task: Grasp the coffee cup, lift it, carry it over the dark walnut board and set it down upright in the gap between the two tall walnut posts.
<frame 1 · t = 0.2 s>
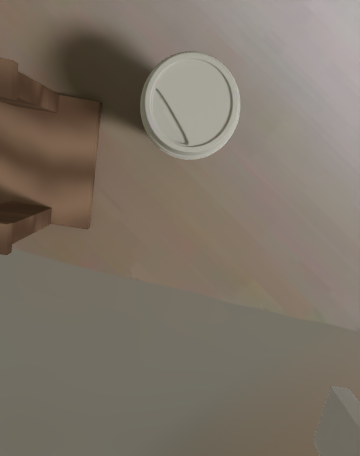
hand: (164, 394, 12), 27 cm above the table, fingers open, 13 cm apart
headboard cradle: (37, 158, 36), on the table
coffee cup: (185, 122, 35), on the table
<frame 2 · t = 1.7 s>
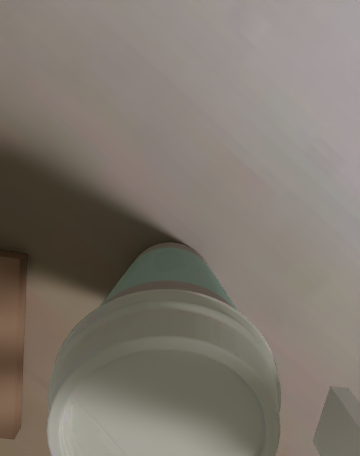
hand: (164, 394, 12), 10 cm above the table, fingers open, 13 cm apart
coffee cup: (169, 279, 21), on the table
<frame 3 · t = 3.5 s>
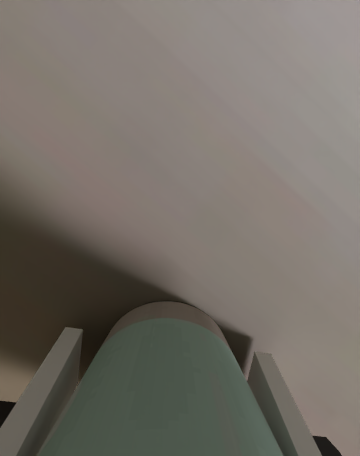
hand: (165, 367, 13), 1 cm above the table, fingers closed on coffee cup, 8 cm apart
coffee cup: (166, 354, 14), on the table, touching gripper
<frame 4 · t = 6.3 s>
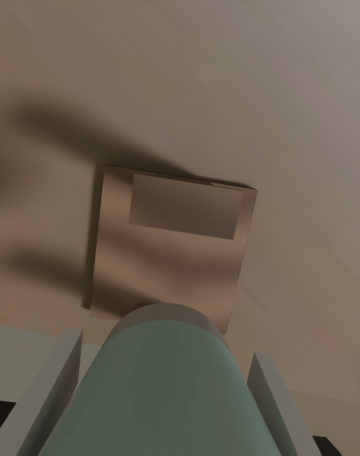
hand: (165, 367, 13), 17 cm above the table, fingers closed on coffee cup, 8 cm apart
headboard cradle: (169, 252, 29), on the table
coffee cup: (165, 356, 14), point 16 cm above the table, touching gripper
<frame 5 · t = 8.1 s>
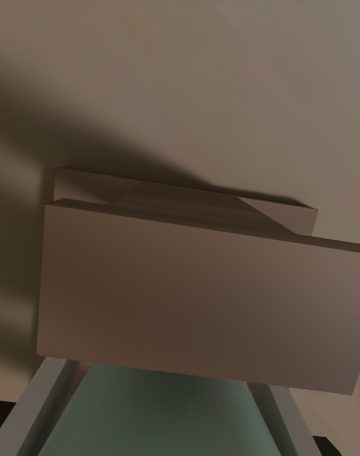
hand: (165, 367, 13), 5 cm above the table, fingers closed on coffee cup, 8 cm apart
headboard cradle: (168, 308, 18), on the table
coffee cup: (165, 356, 14), point 4 cm above the table, touching gripper
when the fingers open (3 cm above the table, at t = 9.4 s): coffee cup drops 1 cm, resting on headboard cradle.
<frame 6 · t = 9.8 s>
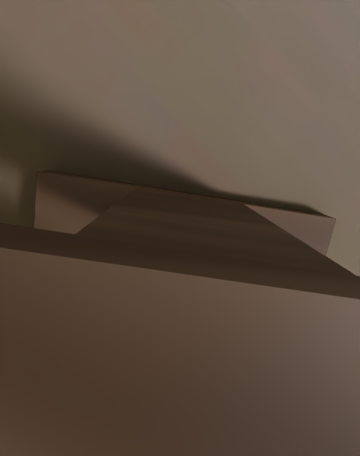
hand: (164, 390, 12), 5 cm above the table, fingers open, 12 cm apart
headboard cradle: (167, 327, 16), on the table
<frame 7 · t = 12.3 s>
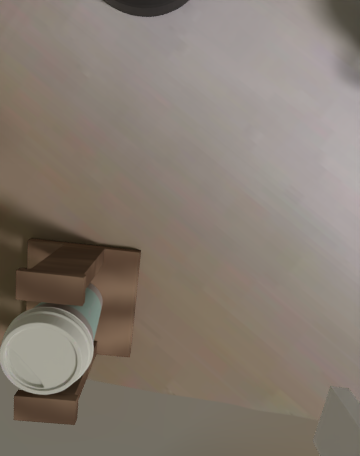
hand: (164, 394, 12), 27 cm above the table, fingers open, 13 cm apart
headboard cradle: (83, 298, 39), on the table
coffee cup: (80, 300, 39), point 1 cm above the table, touching headboard cradle
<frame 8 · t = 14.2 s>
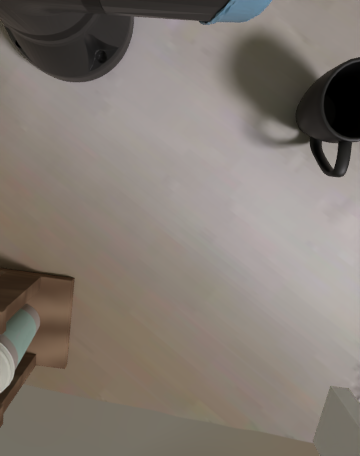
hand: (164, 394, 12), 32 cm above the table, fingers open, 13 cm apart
headboard cradle: (24, 316, 45), on the table
mug: (312, 129, 40), on the table
coffee cup: (21, 319, 45), point 1 cm above the table, touching headboard cradle
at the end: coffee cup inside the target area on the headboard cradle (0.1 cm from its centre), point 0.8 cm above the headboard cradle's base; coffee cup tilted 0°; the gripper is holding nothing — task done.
